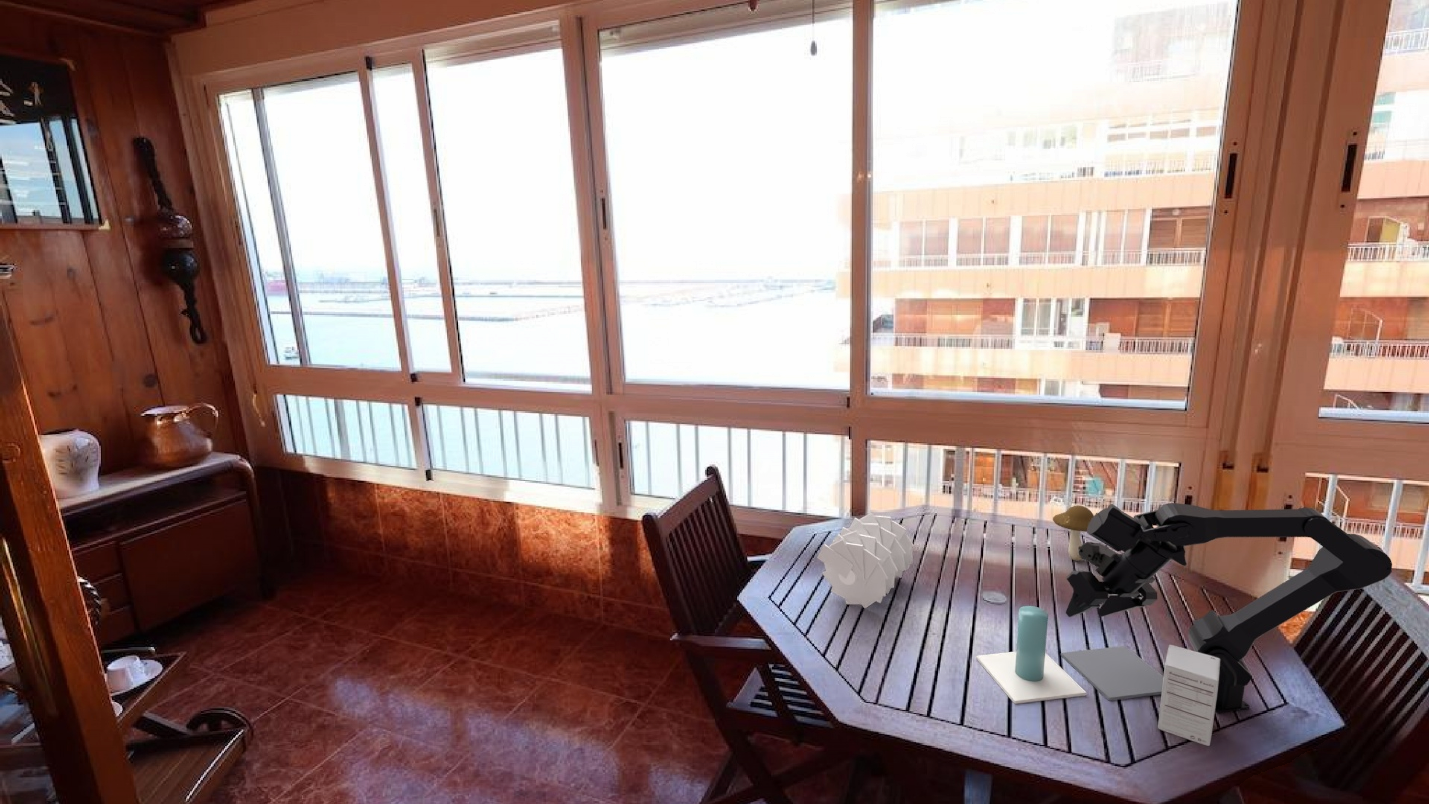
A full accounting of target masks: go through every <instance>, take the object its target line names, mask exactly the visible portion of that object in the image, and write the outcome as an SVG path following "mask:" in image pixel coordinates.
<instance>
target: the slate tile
mask: <svg viewBox="0 0 1429 804" xmlns="http://www.w3.org/2000/svg"><path fill="white" fill-rule="evenodd" d="M1060 656H1061V658H1063V659H1064V661H1066V662H1067V663H1068V664H1069V665H1070V666H1071V667H1072V668H1074V669H1075V670H1076V671H1077V672H1078V674H1079V675H1081V676H1082V677H1083V678H1084V679H1085V680H1086V681H1087V682H1088V683H1090V684H1091V685H1092V686H1093V687H1094V688H1095V689H1096V691H1098V692H1099V693H1100V694H1102V696H1103V697H1104V698H1105V699H1107V700H1108V701H1115V700H1125V699H1126V700H1127V699H1132V698H1133V699H1134V698H1141V697H1149V696H1150V697H1151V696H1158V695H1162V686H1163V678H1164V675H1162V674H1161V673H1160V672H1159V671H1158V670H1156V669H1155V668H1154V667H1152V666H1151V665H1150V664H1149V663H1147V662H1146V660H1144V659H1142V657H1140V656H1138V655H1137V654H1136V653H1135V652H1134V651H1133V650H1131V649H1130V648H1129V647H1127V646H1126V645H1121V646H1120V645H1119V646H1113V647H1111V646H1110V647H1104V648H1103V647H1101V648H1094V649H1092V648H1091V649H1085V650H1084V649H1083V650H1075V651H1065V652H1061V653H1060Z"/></svg>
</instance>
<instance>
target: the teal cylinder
mask: <svg viewBox="0 0 1429 804" xmlns="http://www.w3.org/2000/svg"><path fill="white" fill-rule="evenodd" d="M1018 609H1019V610H1018V618H1017V620H1018V621H1017V635H1016V649H1015V652H1016V662H1015V673H1016V674H1017V675H1018V676H1019V677H1020V678H1022V679H1024V680H1027V681H1032V682H1037V681H1041V680H1042V679H1043V676H1044V664H1045V653H1046V647H1047V636H1048V625H1049V624H1048V623H1049V622H1048V621H1049V613H1048V612H1047V611H1046V610H1045V609H1043V608H1041V607H1037V606H1033V605H1023V606H1021V607H1020V608H1018Z"/></svg>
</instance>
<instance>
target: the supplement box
mask: <svg viewBox="0 0 1429 804" xmlns="http://www.w3.org/2000/svg"><path fill="white" fill-rule="evenodd" d="M1219 670H1220V659H1219V658H1217V657H1213V656H1210V655H1207V654H1203V653H1199V652H1195V650H1191V649H1189V648H1184V647H1181V646H1176V645H1173V644H1168V649H1167V651H1166V657H1165V664H1164V671H1163V676H1164V678H1163V686H1162V694H1160V695H1161V696H1160V706H1159V716H1158V722H1157V724H1158V725H1157V728H1158V729H1159V730H1160V731H1163V732H1166V733H1169V734H1172V735H1175V736H1178V737H1181V738H1183V739H1185V740H1186V739H1187V740H1189V741H1192V742H1194V743H1198V744H1200V745H1204V746H1207V747H1210V745H1211V740H1212V734H1213V726H1214V719H1215V712H1216V711H1215V706H1216V699H1217V691H1218V682H1219Z"/></svg>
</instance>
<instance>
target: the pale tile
mask: <svg viewBox="0 0 1429 804" xmlns="http://www.w3.org/2000/svg"><path fill="white" fill-rule="evenodd" d="M975 659H976V661H978V662H979V664H980V665H981V666H982V667H983V668H984V670H985V671H987V673H988V674H989V675H990V676H991V678H992V679H993V681H995V683H996V684H997V685H998V686H999V687H1000V689H1002V691H1003V692H1004V693H1005V694H1006V695H1007V697H1008V698H1009V699H1010V700H1011V702H1012V703H1013V704H1024V703H1025V704H1026V703H1033V702H1042V701H1048V700H1049V701H1050V700H1057V699H1066V698H1074V697H1084V696H1087V691H1086V690H1084V689H1083V688H1082V687H1081V686H1080V685H1079V684H1078V683H1077V681H1076V680H1074V679H1073V678H1072V677H1071V676H1070V675H1069V674H1068V673H1067V672H1066V671H1065V670H1064V669H1063V668H1062V667H1061V666H1060V665H1059V664H1057V662H1056V661H1054V659H1053V658H1052V657H1050V656H1049V654H1047V653H1046V652H1045V664H1044V676H1043V679H1042V680H1041V681H1037V682H1032V681H1027V680H1024V679H1022V678H1020V677H1019V676H1018V675H1017V674H1016V673H1015V662H1016V651H1010V652H1001V653H998V652H997V653H992V654H990V653H989V654H982V655H981V654H980V655H976V656H975Z"/></svg>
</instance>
